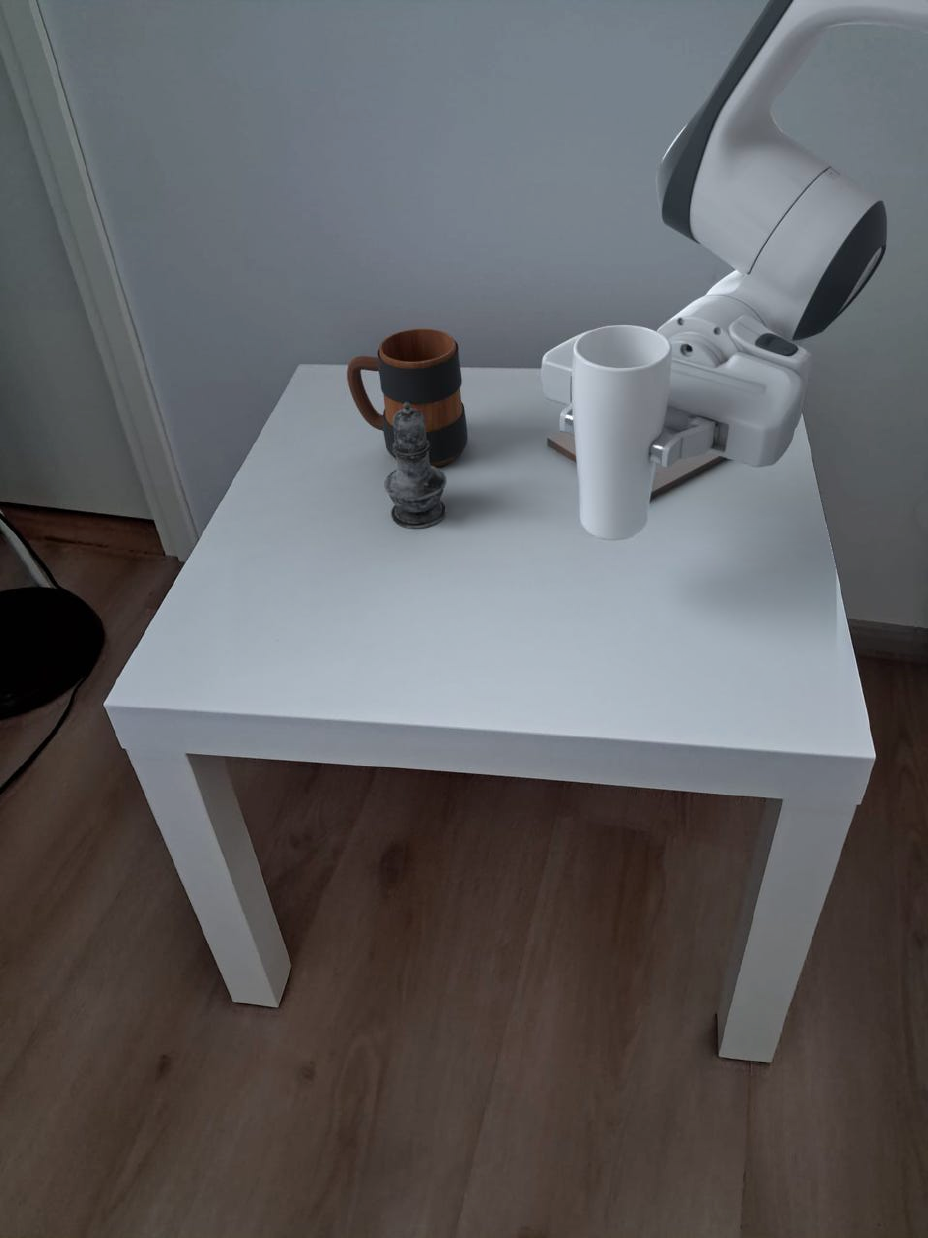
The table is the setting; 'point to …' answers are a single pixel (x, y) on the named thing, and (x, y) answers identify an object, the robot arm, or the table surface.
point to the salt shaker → (414, 474)
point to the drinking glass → (618, 424)
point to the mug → (416, 389)
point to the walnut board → (663, 475)
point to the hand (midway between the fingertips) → (612, 441)
